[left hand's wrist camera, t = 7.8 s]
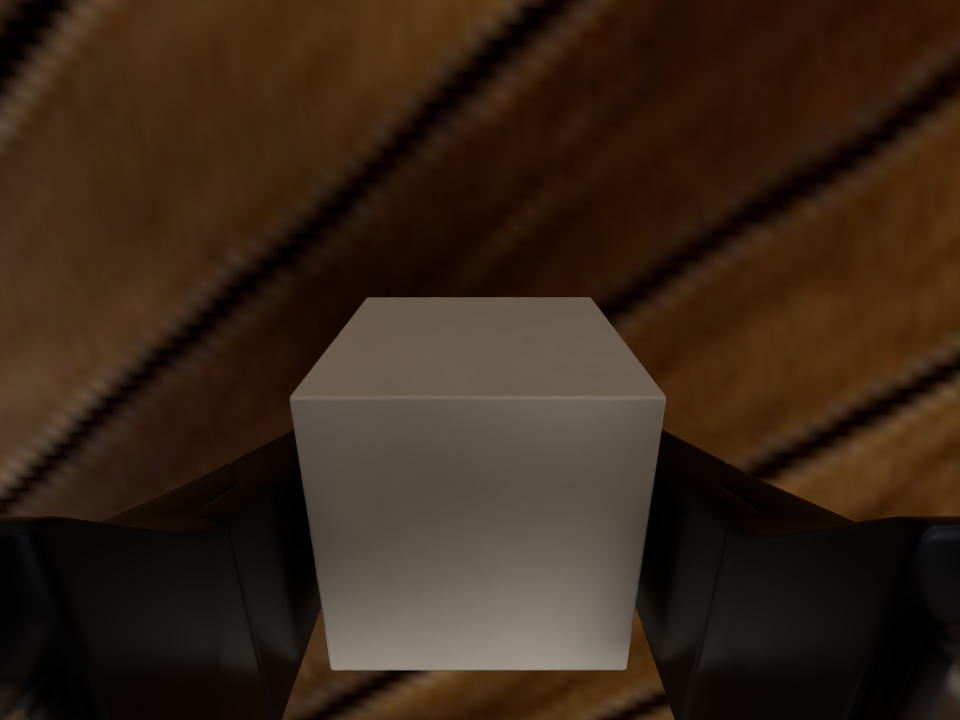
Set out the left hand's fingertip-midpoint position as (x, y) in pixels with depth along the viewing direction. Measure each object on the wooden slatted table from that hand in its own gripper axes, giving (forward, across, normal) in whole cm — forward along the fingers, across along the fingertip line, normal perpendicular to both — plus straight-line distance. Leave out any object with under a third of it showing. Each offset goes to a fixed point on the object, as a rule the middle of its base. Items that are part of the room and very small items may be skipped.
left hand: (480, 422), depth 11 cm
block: (+1, 0, 0) cm, 1 cm away
